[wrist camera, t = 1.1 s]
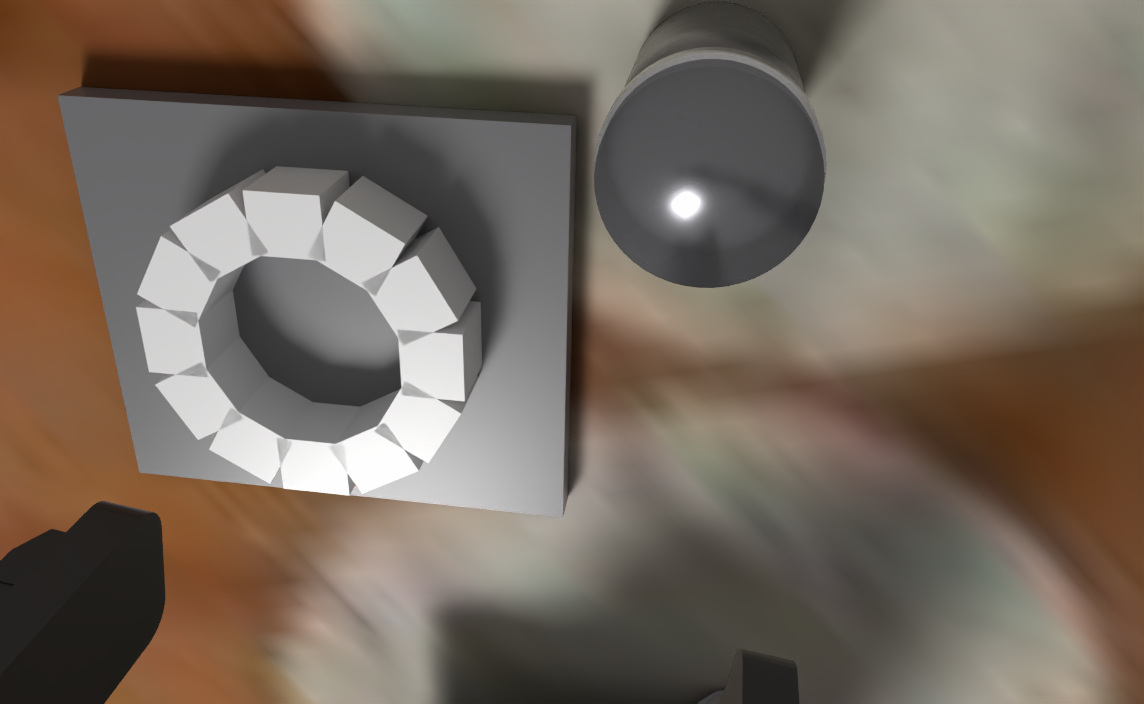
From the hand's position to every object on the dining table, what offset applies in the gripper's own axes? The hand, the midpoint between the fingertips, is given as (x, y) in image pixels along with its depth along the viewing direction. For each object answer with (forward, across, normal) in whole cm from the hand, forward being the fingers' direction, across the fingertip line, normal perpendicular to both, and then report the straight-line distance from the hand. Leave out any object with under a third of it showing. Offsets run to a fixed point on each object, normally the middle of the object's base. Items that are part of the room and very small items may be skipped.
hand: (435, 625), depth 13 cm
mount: (+19, +8, +6) cm, 22 cm away
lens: (+20, -2, -4) cm, 20 cm away
